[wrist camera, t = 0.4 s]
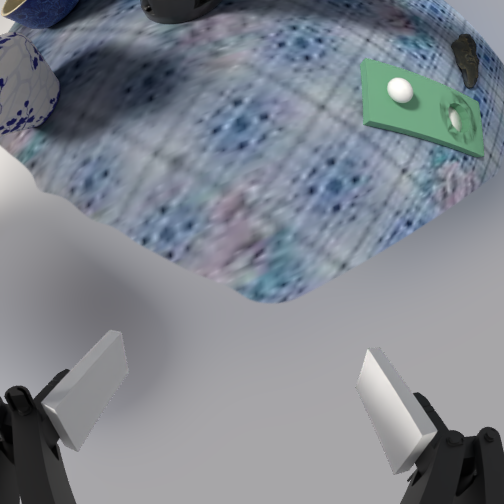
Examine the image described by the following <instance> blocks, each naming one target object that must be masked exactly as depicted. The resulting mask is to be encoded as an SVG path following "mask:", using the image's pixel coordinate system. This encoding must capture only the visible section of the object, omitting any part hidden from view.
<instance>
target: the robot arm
mask: <svg viewBox="0 0 504 504" xmlns="http://www.w3.org/2000/svg"><path fill="white" fill-rule="evenodd" d="M221 1H222V0H140V3H141V8H142V10H143V11H144V13H145V14H146V16H147V17H148V18H149V19H150V20H152V21H154V22H157V23H163V24H173V23H181V22H185V21H189V20H192V19H195V18H198V17H200V16H202V15H204V14H206V13H208V12H209V11H211V10H212V9H214V8H215V7H216V6H217V5H218V4H219V3H220V2H221ZM128 373H129V370H128V365H127V359H126V354H125V349H124V343H123V338H122V332H118V331H113V330H109V331H108V332H107V333H106V334H105V335H104V336H103V337H102V338H101V339H100V341H98V342H97V343H96V344H95V346H94V347H92V349H91V350H90V351H89V352H88V353H87V354H86V355H85V356H84V357H83V358H82V359H81V360H80V361H79V362H78V363H77V364H76V365H75V366H74V367H73V368H72V369H71V370H68V369H65V370H64V371H62V372H60V373H58V374H57V375H56V376H55V377H54V378H53V380H52V381H51V382H49V383H48V385H47V386H46V387H45V388H44V389H43V390H42V391H41V392H40V393H39V394H38V395H37V396H36V397H35V398H34V399H33V398H32V397H31V394H30V392H29V390H28V389H27V388H26V387H23V386H13V387H11V388H9V389H8V390H7V391H6V393H5V396H4V397H5V399H6V401H7V403H8V404H5V403H4V402H3V401H2V399H1V397H0V504H20V497H21V501H22V504H76V502H75V499H74V496H73V494H72V491H71V488H70V485H69V482H68V478H67V475H66V472H65V468H64V465H63V461H62V457H61V453H60V449H59V446H58V444H57V441H58V440H59V438H60V439H61V440H62V442H63V444H64V445H65V446H66V447H69V448H71V449H73V450H75V451H77V452H78V451H79V450H80V448H81V446H82V444H83V443H84V442H85V440H86V438H87V437H88V435H89V433H90V432H91V430H92V428H93V427H94V425H95V424H96V422H97V421H98V419H99V418H100V416H101V414H102V413H103V411H104V410H105V408H106V406H107V405H108V404H109V402H110V400H111V399H112V397H113V396H114V394H115V393H116V391H117V389H118V388H119V387H120V385H121V383H122V382H123V381H124V379H125V378H126V376H127V375H128ZM356 389H357V391H358V394H359V396H360V398H361V400H362V402H363V404H364V406H365V409H366V411H367V413H368V416H369V418H370V420H371V422H372V424H373V427H374V429H375V431H376V433H377V435H378V438H379V440H380V443H381V445H382V447H383V450H384V452H385V454H386V457H387V459H388V461H389V464H390V466H391V469H392V471H393V474H394V475H395V474H399V473H402V472H405V471H408V470H409V469H410V468H411V467H412V466H413V465H414V463H415V464H416V466H417V469H416V470H415V472H414V473H413V474H412V475H411V476H410V477H409V479H408V480H407V481H408V482H409V481H410V480H411V481H410V484H409V486H408V488H407V491H406V493H405V495H404V497H403V499H402V501H401V503H400V504H504V452H503V447H502V442H501V438H500V435H499V433H498V431H496V430H495V429H494V428H492V427H485V428H483V429H481V430H480V432H479V433H478V434H477V436H470V437H464V435H462V434H461V433H460V432H458V431H454V430H450V431H449V430H448V428H447V427H446V426H445V424H444V423H443V421H442V420H441V418H440V417H439V416H438V414H437V413H436V411H434V408H433V407H432V406H431V405H430V403H429V401H428V400H427V399H426V398H425V397H424V396H423V395H421V394H420V393H418V392H417V393H412V392H411V390H410V389H409V387H408V386H407V385H406V383H405V382H404V381H403V379H402V377H401V376H400V375H399V373H398V372H397V370H396V369H395V368H394V366H393V365H392V363H391V362H390V361H389V359H388V358H387V357H386V355H385V354H384V352H383V351H382V350H381V348H368V350H367V353H366V357H365V360H364V364H363V367H362V370H361V373H360V376H359V379H358V382H357V385H356Z"/></svg>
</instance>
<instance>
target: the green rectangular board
mask: <svg viewBox="0 0 504 504" xmlns="http://www.w3.org/2000/svg"><path fill="white" fill-rule="evenodd" d="M360 68H361V81H362V97H363V125H367V126H372V127H377V128H381V129H386V130H390V131H394V132H398V133H402V134H406V135H410V136H414V137H417V138H421V139H424V140H427V141H431V142H434V143H437V144H440V145H443V146H446V147H449V148H452V149H455V150H458V151H461V152H463V153H466V154H469V155H471V156H474V157H484V146H483V134H482V124H481V116H480V109H479V102H478V101H476V100H474V99H472V98H470V97H468V96H466V95H464V94H462V93H460V92H458V91H456V90H454V89H452V88H450V87H447V86H445V85H443V84H441V83H438V82H436V81H434V80H431V79H429V78H426V77H424V76H421V75H418V74H416V73H413V72H410V71H407V70H404V69H401V68H398V67H395V66H392V65H389V64H385V63H382V62H379V61H375V60H371V59H367V58H365V59H364V60H363V62H362V63H361V64H360ZM393 78H403V79H405V80H407V81H408V82H409V83H410V84H411V86H412V88H413V97H412V99H411V100H410V101H408V102H406V103H398V102H396V101H394V100H393V99H392V98H391V97H390V96H389V94H388V91H387V86H388V83H389V82H390V80H392V79H393ZM460 131H461V132H460Z"/></svg>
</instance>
